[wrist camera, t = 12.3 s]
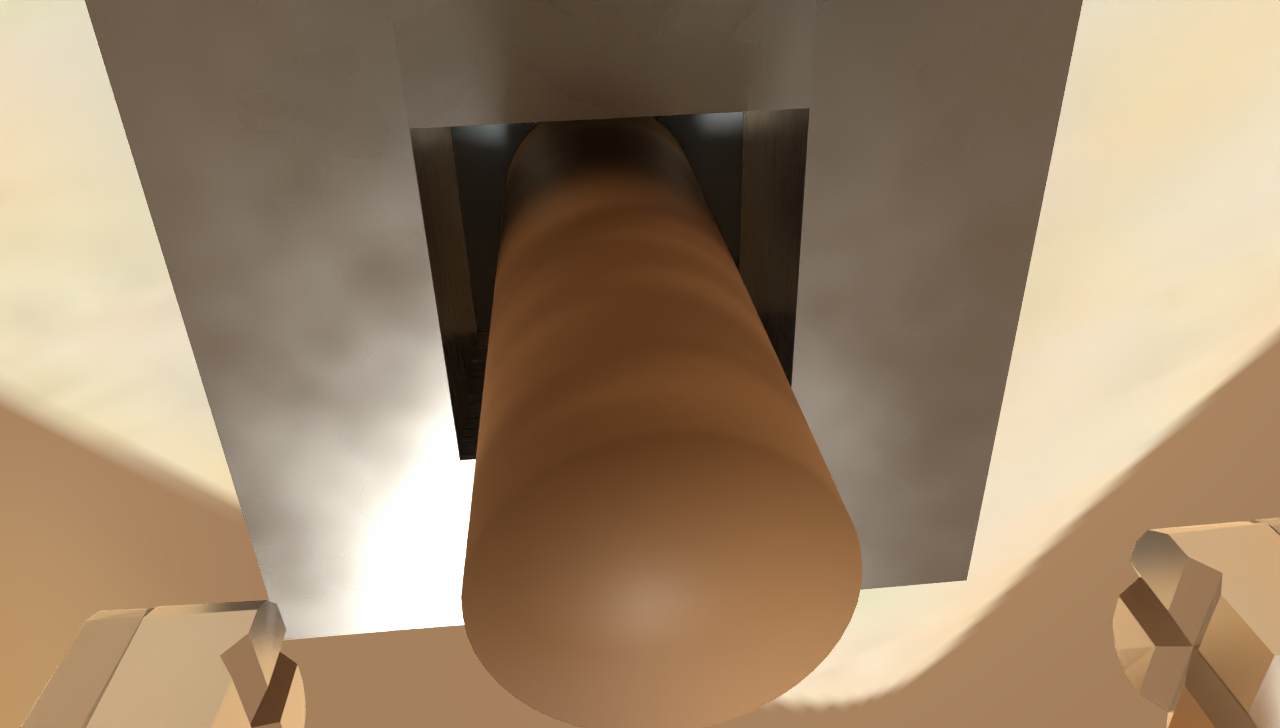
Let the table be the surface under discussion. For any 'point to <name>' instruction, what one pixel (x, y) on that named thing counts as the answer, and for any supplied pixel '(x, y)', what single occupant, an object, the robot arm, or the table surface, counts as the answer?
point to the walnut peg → (641, 455)
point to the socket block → (438, 267)
